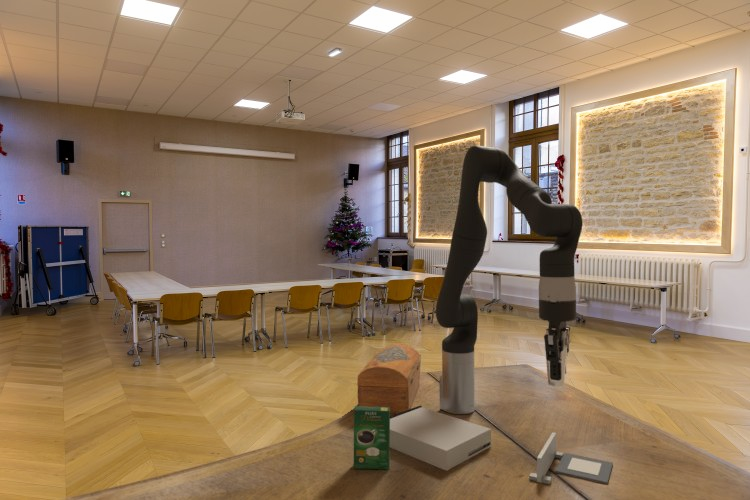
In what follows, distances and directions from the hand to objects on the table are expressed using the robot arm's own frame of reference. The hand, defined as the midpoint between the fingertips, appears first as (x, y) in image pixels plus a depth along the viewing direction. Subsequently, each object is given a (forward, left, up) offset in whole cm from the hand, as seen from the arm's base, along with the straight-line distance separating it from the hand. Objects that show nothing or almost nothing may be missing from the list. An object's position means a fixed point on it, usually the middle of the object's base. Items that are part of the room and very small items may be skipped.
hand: (558, 376), depth 106 cm
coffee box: (-35, -20, -20) cm, 45 cm away
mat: (+5, +2, -20) cm, 20 cm away
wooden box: (-55, +23, -20) cm, 63 cm away
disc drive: (-29, -2, -20) cm, 36 cm away
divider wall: (-2, -1, -20) cm, 20 cm away
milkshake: (0, 0, -2) cm, 2 cm away
